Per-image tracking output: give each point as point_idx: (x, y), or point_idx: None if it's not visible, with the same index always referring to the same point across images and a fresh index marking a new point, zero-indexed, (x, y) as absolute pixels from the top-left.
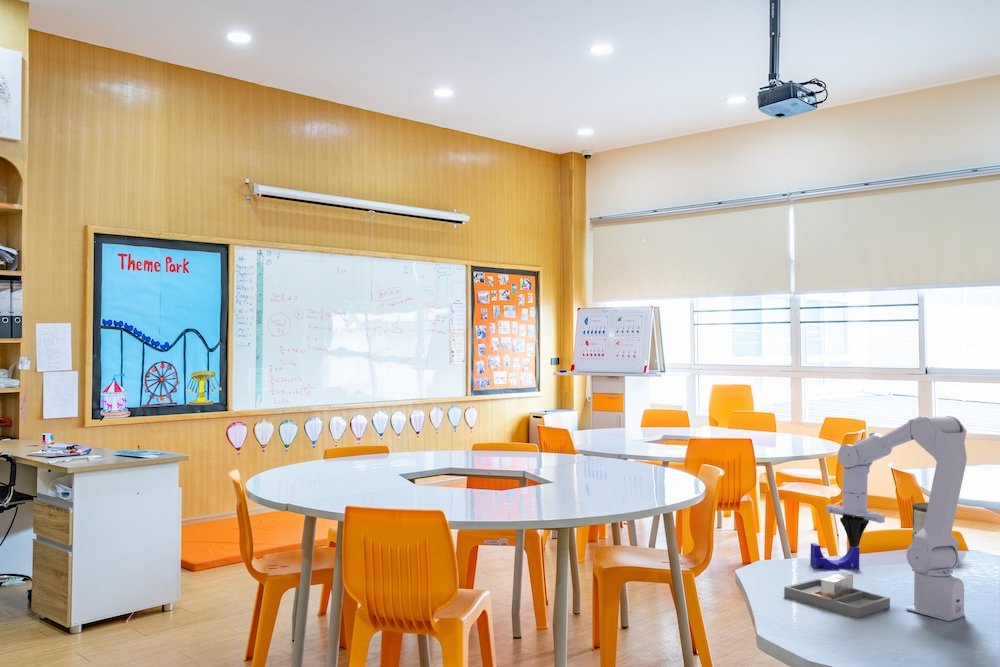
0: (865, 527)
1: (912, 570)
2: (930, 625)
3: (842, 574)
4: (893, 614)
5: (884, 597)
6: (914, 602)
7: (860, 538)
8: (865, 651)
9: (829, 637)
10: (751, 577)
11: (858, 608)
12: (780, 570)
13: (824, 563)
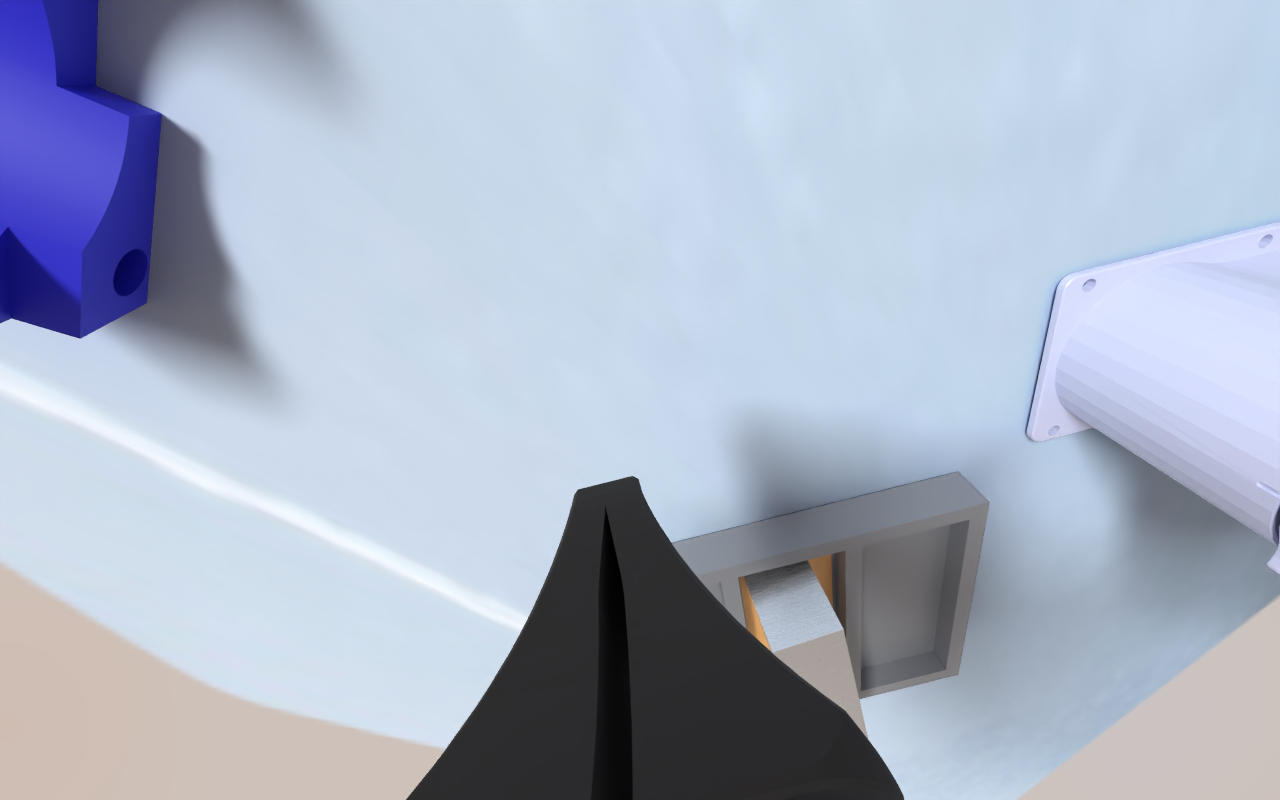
0: (758, 641)
1: (1269, 567)
2: (1154, 482)
3: (806, 664)
4: (1004, 515)
5: (968, 519)
6: (1085, 420)
7: (663, 534)
8: (1060, 738)
9: (960, 756)
10: (365, 708)
11: (957, 668)
12: (219, 550)
13: (117, 254)
